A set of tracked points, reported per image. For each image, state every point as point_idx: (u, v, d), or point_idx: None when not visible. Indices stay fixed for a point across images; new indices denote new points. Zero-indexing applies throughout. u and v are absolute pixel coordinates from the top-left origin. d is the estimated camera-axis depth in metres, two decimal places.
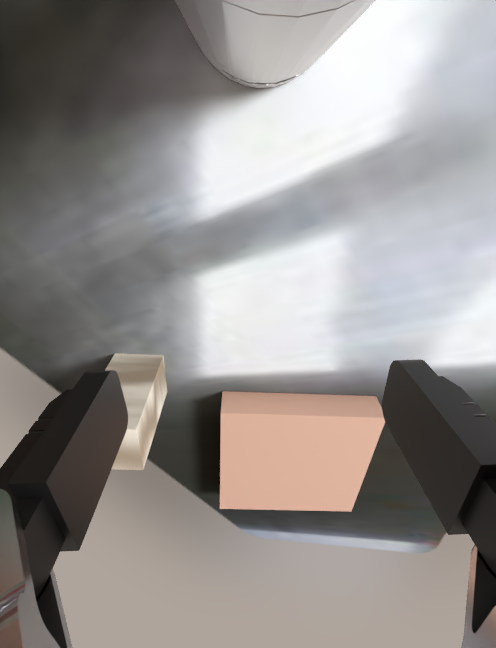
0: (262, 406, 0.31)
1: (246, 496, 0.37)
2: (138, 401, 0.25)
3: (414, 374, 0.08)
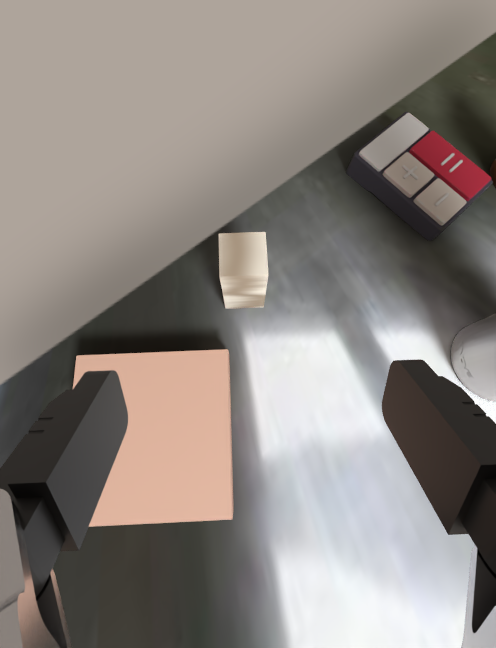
0: (229, 388, 0.34)
1: None
2: None
3: (414, 374, 0.08)
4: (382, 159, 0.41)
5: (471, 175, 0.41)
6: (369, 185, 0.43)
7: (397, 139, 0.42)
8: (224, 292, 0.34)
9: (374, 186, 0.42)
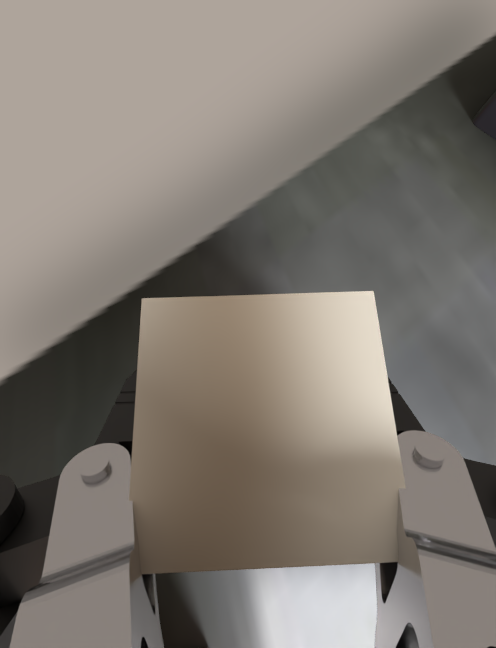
0: None
1: None
2: None
3: None
4: None
5: None
6: None
7: None
8: None
9: None
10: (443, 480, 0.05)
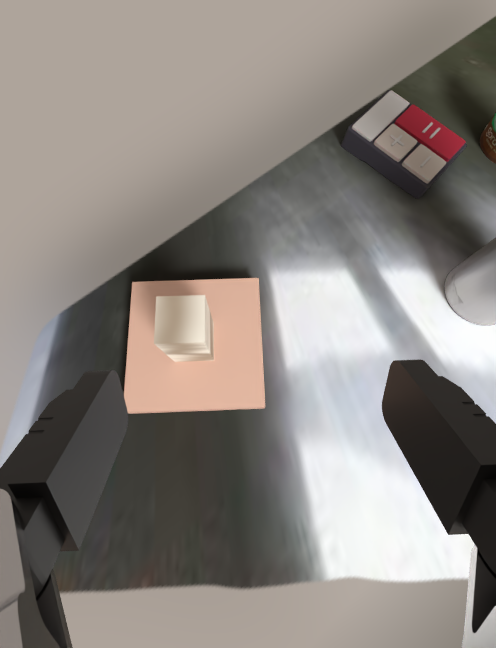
0: None
1: (151, 304, 0.40)
2: (208, 343, 0.32)
3: (414, 374, 0.08)
4: (372, 131, 0.48)
5: (448, 140, 0.48)
6: (362, 155, 0.50)
7: (383, 113, 0.49)
8: (166, 352, 0.33)
9: (367, 155, 0.49)
10: None
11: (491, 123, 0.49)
